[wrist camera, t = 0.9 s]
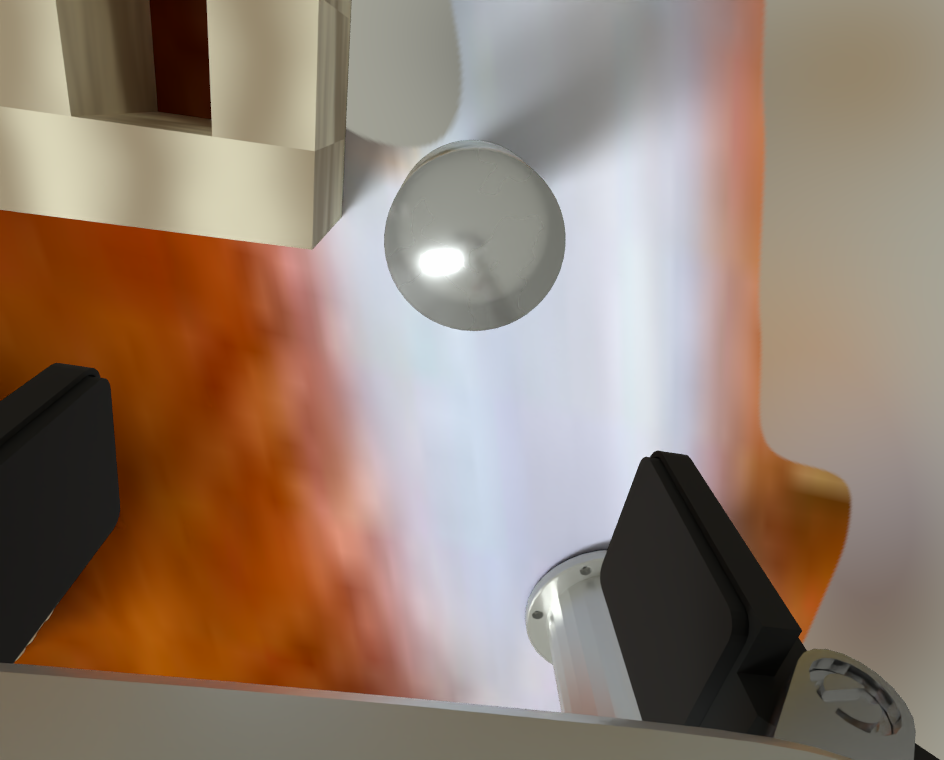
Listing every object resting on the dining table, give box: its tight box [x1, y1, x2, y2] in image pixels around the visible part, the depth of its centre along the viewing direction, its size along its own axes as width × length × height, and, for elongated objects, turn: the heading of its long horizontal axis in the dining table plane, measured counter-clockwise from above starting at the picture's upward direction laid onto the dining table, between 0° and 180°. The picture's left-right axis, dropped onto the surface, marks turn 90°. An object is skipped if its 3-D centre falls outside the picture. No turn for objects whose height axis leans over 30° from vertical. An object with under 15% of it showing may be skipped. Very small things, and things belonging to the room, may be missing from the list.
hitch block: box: [0, 0, 352, 250], centre depth 27 cm, size 14×14×8 cm
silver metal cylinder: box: [384, 140, 565, 331], centre depth 29 cm, size 7×7×12 cm
